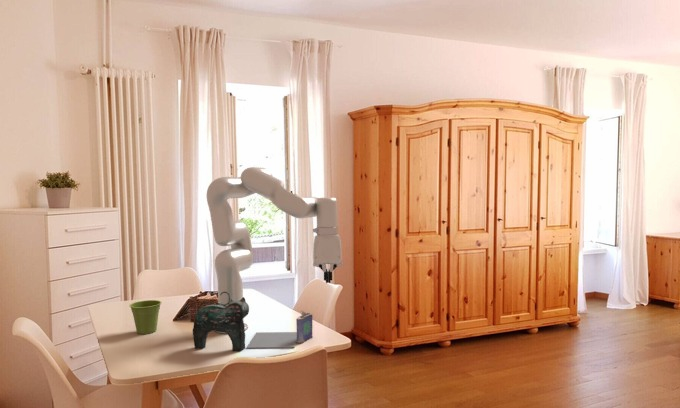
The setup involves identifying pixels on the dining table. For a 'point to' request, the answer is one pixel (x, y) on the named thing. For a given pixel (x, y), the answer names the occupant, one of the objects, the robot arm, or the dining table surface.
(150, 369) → the dining table surface
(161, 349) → the dining table surface
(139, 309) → the plant pot
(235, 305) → the ceramic cat
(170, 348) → the dining table surface
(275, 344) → the mat
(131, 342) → the dining table surface
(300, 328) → the flask
